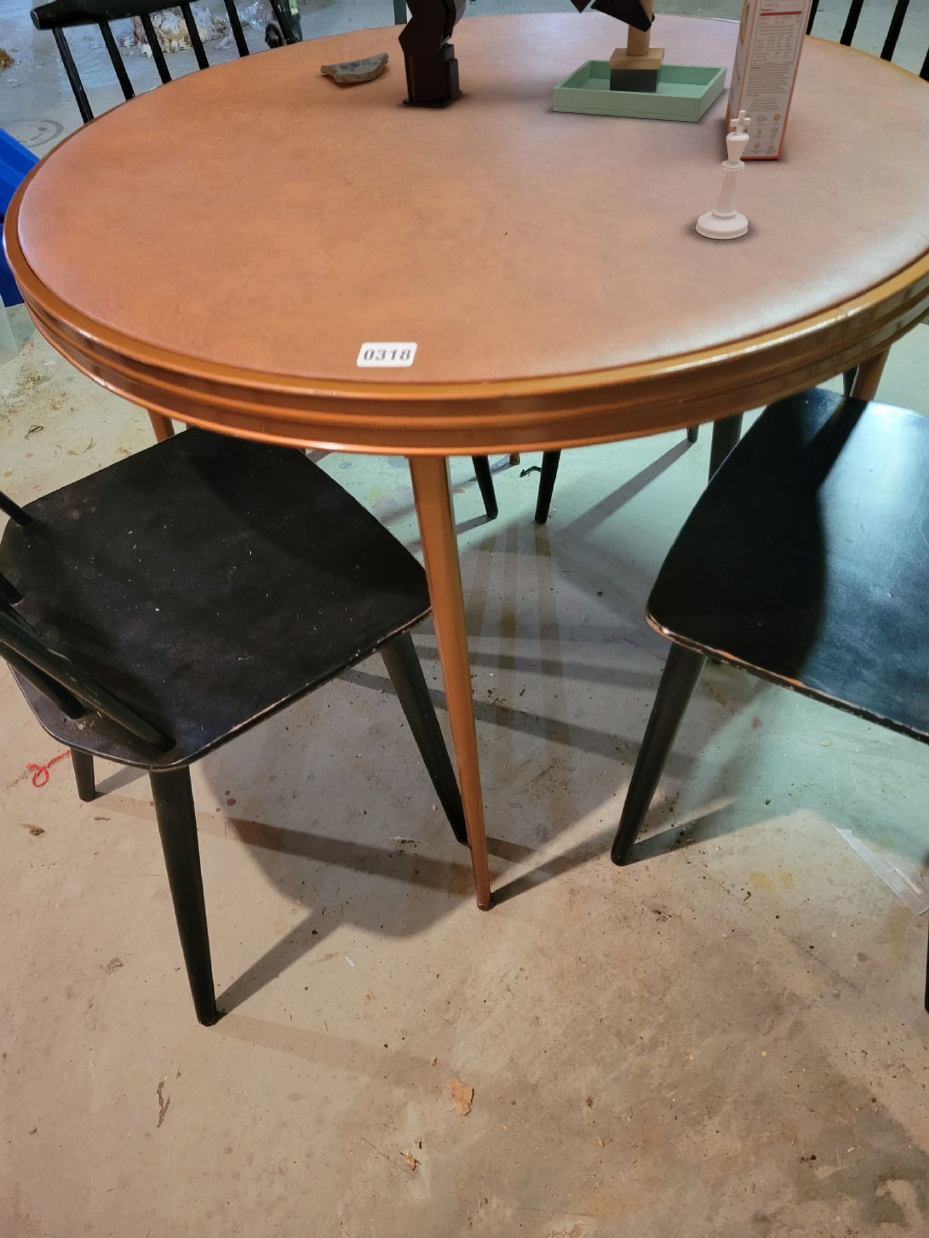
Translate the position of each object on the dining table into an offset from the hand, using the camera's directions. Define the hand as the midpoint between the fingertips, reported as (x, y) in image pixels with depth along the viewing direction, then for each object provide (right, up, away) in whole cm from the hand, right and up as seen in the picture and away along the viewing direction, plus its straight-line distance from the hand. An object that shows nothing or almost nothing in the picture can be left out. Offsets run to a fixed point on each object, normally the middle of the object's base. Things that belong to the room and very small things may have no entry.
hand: (650, 25), depth 97 cm
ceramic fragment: (-39, +9, +22) cm, 46 cm away
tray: (0, -5, +6) cm, 8 cm away
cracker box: (+10, -18, -6) cm, 22 cm away
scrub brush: (-1, -4, +5) cm, 7 cm away
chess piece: (+2, -36, -21) cm, 42 cm away
